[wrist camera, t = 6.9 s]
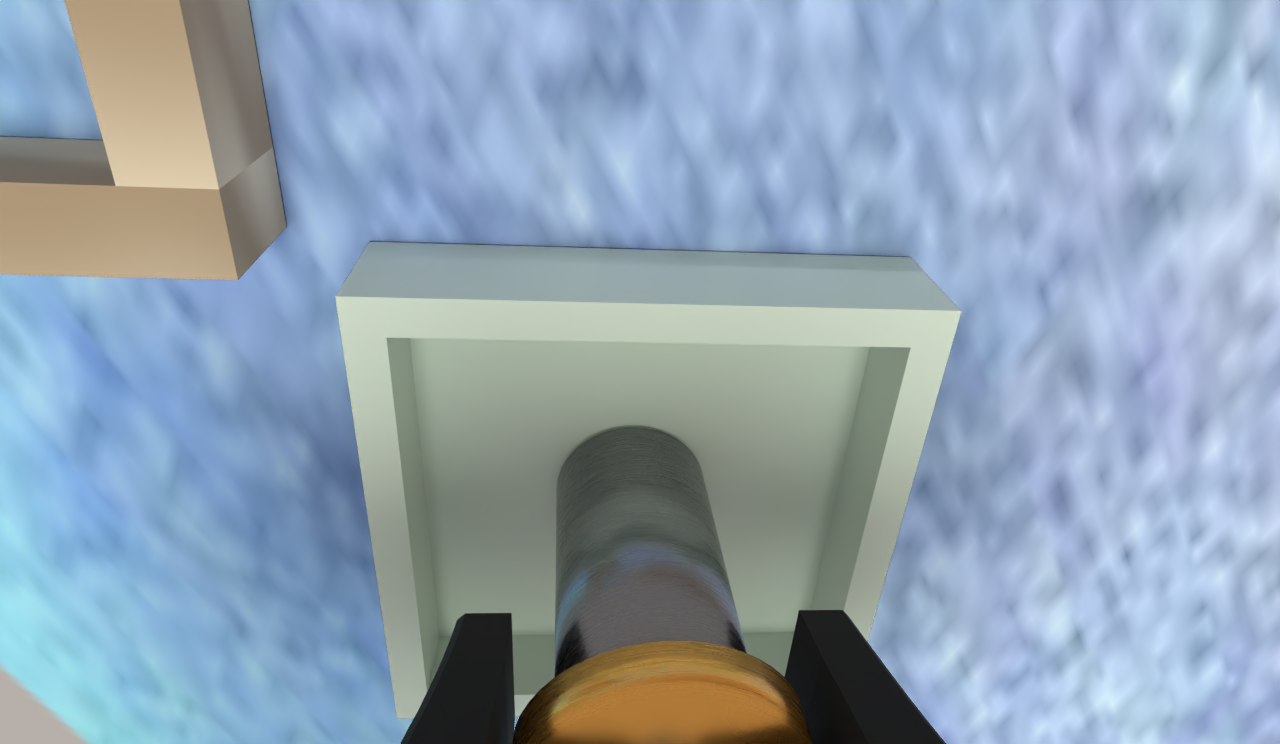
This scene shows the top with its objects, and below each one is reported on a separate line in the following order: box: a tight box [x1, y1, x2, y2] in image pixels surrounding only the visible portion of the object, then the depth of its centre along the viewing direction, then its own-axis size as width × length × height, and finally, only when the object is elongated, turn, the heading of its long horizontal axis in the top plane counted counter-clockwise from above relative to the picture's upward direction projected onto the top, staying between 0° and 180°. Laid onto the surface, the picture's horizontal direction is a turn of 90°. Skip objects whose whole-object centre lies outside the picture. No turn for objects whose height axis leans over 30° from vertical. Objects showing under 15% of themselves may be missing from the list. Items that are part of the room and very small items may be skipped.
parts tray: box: [335, 242, 961, 719], centre depth 14 cm, size 9×9×2 cm
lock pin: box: [512, 428, 813, 744], centre depth 12 cm, size 4×4×6 cm
